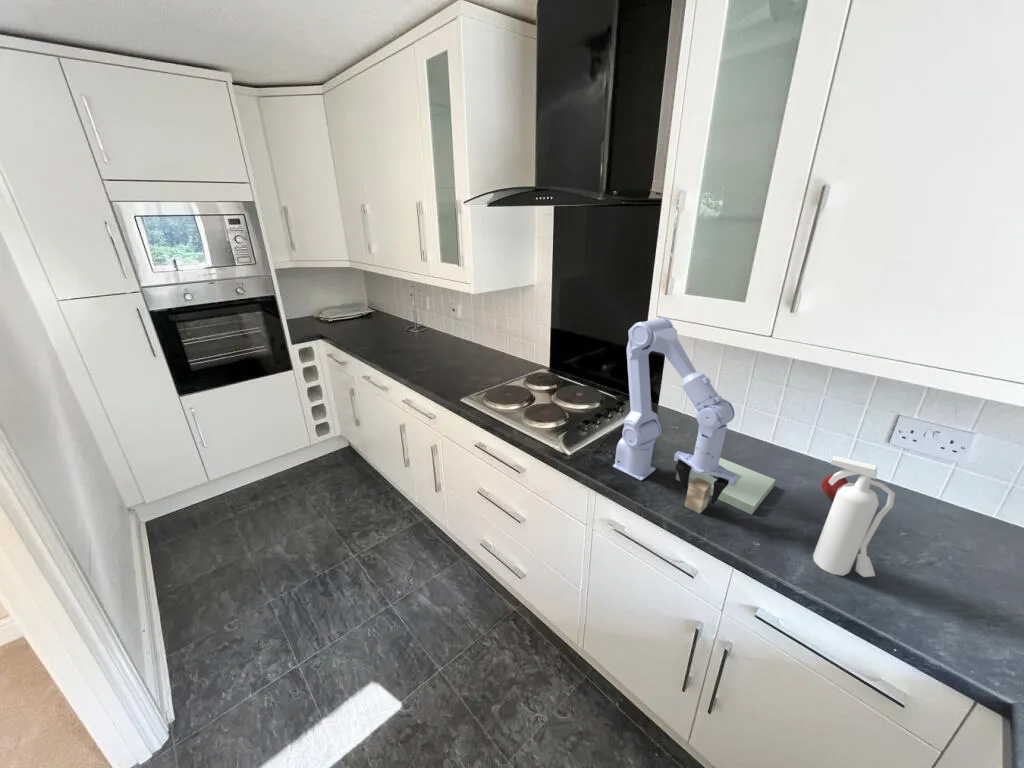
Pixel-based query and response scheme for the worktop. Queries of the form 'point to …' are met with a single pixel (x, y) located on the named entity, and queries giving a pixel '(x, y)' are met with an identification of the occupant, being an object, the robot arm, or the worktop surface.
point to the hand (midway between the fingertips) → (698, 494)
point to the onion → (832, 486)
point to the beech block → (698, 495)
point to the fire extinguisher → (851, 520)
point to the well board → (739, 486)
